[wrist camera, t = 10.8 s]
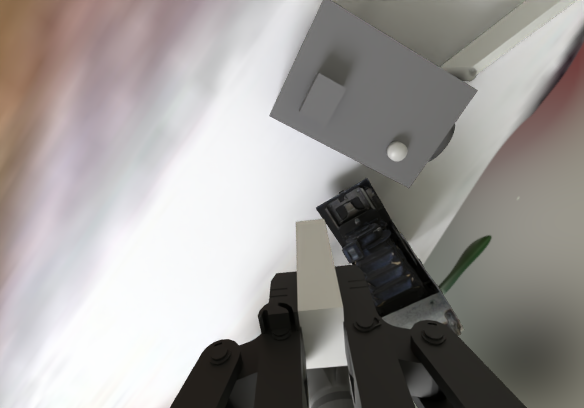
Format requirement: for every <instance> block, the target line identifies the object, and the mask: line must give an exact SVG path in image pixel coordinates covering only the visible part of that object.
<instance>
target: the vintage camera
mask: <svg viewBox="0 0 584 408" xmlns="http://www.w3.org/2000/svg"><path fill="white" fill-rule="evenodd" d="M316 209H317V211H318V212H319V214H320V215H321V217H322V218H323V219H324V220H325V222H326V224H327V225H328V227H329V228H330V230H331V231H332V233H333V234H334V236H335V237H336V239H337V240H338V242H339V243H340V244H341V246H342V248H343V249H342V251H343V253H344V255H345V256H346V258H347V260H348V262H349V263H352V265H356V266H358V267H359V268H360V269H361V270H362V271H363V274H364V276H365V279H366V282H367V285H368V288H369V291H370V294H371V296H372V299H373V302H374V305H375V308H376V311H377V313H378V315H379V316H380V317H381V318H382V319H383V320H384V321H385V322H387V323H388V324H391V325H393V326H396V327H401V328H407V329H411V328H412V327H413V325H414V324H415V323H417V322H419V321H422V320H433V321H438V322H440V323H443V324H445V325H446V326H448V327H449V328H450V329H451V330H453V332H454V333H455V334H456V335H457V336H459V335H461V331H463V330H464V328H463V326H462V324H461V322H460V321H459V319H458V318H457V316H456V314H455V313H454V311H453V309H452V308H451V306H450V305H449V303H448V301H447V300H446V298H445V297H444V295H443V293H442V291H441V290H440V288H439V287H438V286H437V284H436V283H435V282H434V280H433V279H432V278H431V277H430V275H429V274H428V273H427V271H426V270H425V268H424V267H423V264H422V262H421V261H420V259H418V258H417V256H416V255H415V253H414V252H413V250H412V249H411V247H410V245H409V244H408V242H407V241H406V239H405V238H404V236H403V235H402V234H400V233H399V232H398V230H397V228H396V227H395V225H394V223H393V222H392V220H391V218H390V217H389V215H388V213H387V212H386V210H385V208H384V206H383V204H382V203H381V201H380V199H379V197H378V196H377V194H376V192H375V191H374V189H373V187H372V186H371V184H370V182H369V180H368V178H366V179H364V180H363V181H361V182H359V183H358V184H356V185H354V186H353V187H351V188H349V189H347V190H346V191H344V190H343V191H341V192H340V193H339V195H337V196H335V197H333V198H332V199H330V200H328V201H327V202H325V203H323V204H321V205H320V206H318V207H316Z"/></svg>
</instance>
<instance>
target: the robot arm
mask: <svg viewBox="0 0 584 408" xmlns="http://www.w3.org/2000/svg"><path fill="white" fill-rule="evenodd" d="M296 250H297V271H296V272H286V273H276V275H275V276H274V278H273V279H272V281H271V287H270V298H269V303H268V304H266V305H264V307H263V308H262V309H261V310H260V311H259V314H258V319H259V323H260V328H261V333H262V334H261V335H260V336H258V337H257V338H256V339H254V340H252V341H250V342H247V343H245V344H242V345H238V344H237V343H236V342H235V341H232V340H229V339H225V340H219V341H216V342H214V343H212V344H211V345H209V346H208V347H207V348H206V349H205V350H204V351H203V352H202V354H201V356H200V357H199V359H198V361H197V362H196V364H195V366H194V367H193V369H192V371H191V373H190V374H189V376H188V378H187V379H186V381H185V383H184V385H183V386H182V388H181V390H180V391H179V393H178V395H177V396H176V398H175V400H174V402H173V403H172V405H171V407H170V408H415V405H414V403H415V404H416V406H417V407H418V408H527V407H526V406H525V405H524V404H523V403H522V402H521V401H520V400H519V399H518V398H517V397H516V396H515V395H514V394H513V393H512V392H511V391H510V390H509V389H508V388H507V387H506V386H505V385H504V384H503V382H502V381H501V380H500V379H499V378H497V376H496V375H495V374H494V373H493V372H492V371H491V370H490V369H489V368H488V367H487V366H486V365H485V364H484V363H483V362H482V361H481V360H480V359H479V358H478V356H477V355H476V354H475V353H474V352H473V351H472V350H471V349H470V348H469V347H468V346H467V345H466V344H465V343H464V342H463V341H462V340H461V339H460V338H459V337H458V336H457V335H456V334H455V333H454V332H453V330H451V329H450V328H449V327H448V326H446V325H445V324H443V323H440V322H438V321H433V320H422V321H419V322H417V323H415V324H414V325H413V327H412V328H411V329H407V328H401V327H396V326H393V325H391V324H388V323H387V322H385V321H384V320H383V319H382V318H381V317H380V316H379V315H378V313H377V311H376V308H375V305H374V302H373V299H372V296H371V294H370V291H369V288H368V285H367V282H366V279H365V276H364V274H363V271H362V270H361V269H360V268H359V267H358V266H356V265H347V266H337V267H334V262H333V257H332V253H331V248H330V243H329V239H328V234H327V229H326V224H325V220H324V219H318V220H309V221H300V222H296ZM412 399H413V400H412ZM413 401H414V402H413Z"/></svg>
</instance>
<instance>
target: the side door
mask: <svg viewBox="0 0 584 408" xmlns="http://www.w3.org/2000/svg"><path fill="white" fill-rule="evenodd" d="M576 1H577V0H526V1H524V2H523V3H522V4H520V5H519V6H518V7H517V8H515V9H514V10H513V11H511V12H510V13H509V14H508V15H506V16H505V17H504V18H502V19H501V20H500V21H498V22H497V23H496V24H495V25H493V26H492V27H491V28H489V29H488V30H487V31H486V32H484V33H483V34H482V35H480V36H479V37H478V38H476V39H475V40H474V41H473V42H471V43H470V44H469V45H467V46H466V47H465V48H464V49H462V50H461V51H460V52H458V53H457V54H456V55H455V56H453V57H452V58H451V59H449V60H448V61H447V62H445V63H444V64H443V65H442V66H440V68H442V69H444V70H445V71H447V72H448V73H450V74H452V75H453V76H455V77H457V78H458V79H460V80H461V81H472V80H473V79H474V78H475V77H476V75H477V74H479V73H480V72H481V71H483V70H484V69H485V68H487V67H488V66H489V65H491V64H492V63H493V62H495V61H496V60H497V59H499V58H500V57H502V56H503V55H504V54H506V53H507V52H508V51H510V50H511V49H512V48H514V47H515V46H516V45H518V44H519V43H520V42H522V41H523V40H524V39H526V38H527V37H529V36H530V35H531V34H533V33H534V32H535V31H537V30H538V29H539V28H541V27H542V26H543V25H545V24H546V23H547V22H549V21H550V20H551V19H553V18H554V17H556V16H557V15H558V14H560V13H561V12H562V11H564V10H565V9H566V8H568V7H569V6H570V5H572V4H573V3H574V2H576Z"/></svg>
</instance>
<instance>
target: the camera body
mask: <svg viewBox="0 0 584 408" xmlns="http://www.w3.org/2000/svg"><path fill="white" fill-rule="evenodd" d="M477 91H478V90H476V89H474V88H473V87H471V86H470V85H468V84H466V83H465V82H463V81H461V80H460V79H458V78H457V77H455V76H453V75H452V74H450V73H448V72H447V71H445V70H444V69H442V68H440V67H439V66H437V65H435V64H434V63H432V62H431V61H429V60H427V59H426V58H424V57H422V56H421V55H419V54H418V53H416V52H414V51H413V50H411V49H409V48H408V47H406V46H405V45H403V44H401V43H400V42H398V41H396V40H395V39H393V38H392V37H390V36H388V35H387V34H385V33H383V32H382V31H380V30H379V29H377V28H375V27H374V26H372V25H370V24H369V23H367V22H365V21H364V20H362V19H361V18H359V17H357V16H356V15H354V14H352V13H351V12H349V11H348V10H346V9H344V8H343V7H341V6H339V5H338V4H336V3H335V2H333V1H331V0H323V1H322V3H321V6H320V8H319V10H318V12H317V14H316V16H315V19H314V21H313V23H312V25H311V27H310V29H309V31H308V34H307V36H306V38H305V40H304V42H303V44H302V46H301V49H300V51H299V53H298V55H297V57H296V59H295V62H294V64H293V66H292V68H291V70H290V72H289V74H288V77H287V79H286V81H285V83H284V85H283V87H282V89H281V92H280V94H279V96H278V98H277V100H276V102H275V105H274V107H273V109H272V111H271V113H270V115H269V116H270V117H272V118H274V119H276V120H278V121H280V122H282V123H284V124H286V125H288V126H290V127H292V128H293V129H295V130H297V131H299V132H301V133H303V134H305V135H307V136H309V137H311V138H313V139H315V140H317V141H319V142H321V143H322V144H324V145H326V146H328V147H330V148H332V149H334V150H336V151H338V152H340V153H342V154H344V155H346V156H348V157H350V158H352V159H353V160H355V161H357V162H359V163H361V164H363V165H365V166H367V167H369V168H371V169H373V170H375V171H377V172H379V173H381V174H382V175H384V176H386V177H388V178H390V179H392V180H394V181H396V182H398V183H400V184H402V185H404V186H406V187H408V188H410V186H411V185H412V183H413V182H414V180H415V179H416V178H417V176H418V175H419V173H420V172H421V171H422V169H423V168H424V166H425V165H426V163H427V162H429V161H431V160H433V159H434V158H436V157H437V156H438V155H439V154H440V153H441V152H442V151H443V150H444V149H445V147H446V146H447V145H448V143H449V142H450V140H451V138H452V136H453V133H454V129H455V122H456V121H457V119H458V118H459V116H460V115H461V114H462V112H463V111H464V109H465V108H466V106H467V105H468V104H469V102H470V101H471V99H472V98H473V97H474V95H475V94H476V92H477Z"/></svg>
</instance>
